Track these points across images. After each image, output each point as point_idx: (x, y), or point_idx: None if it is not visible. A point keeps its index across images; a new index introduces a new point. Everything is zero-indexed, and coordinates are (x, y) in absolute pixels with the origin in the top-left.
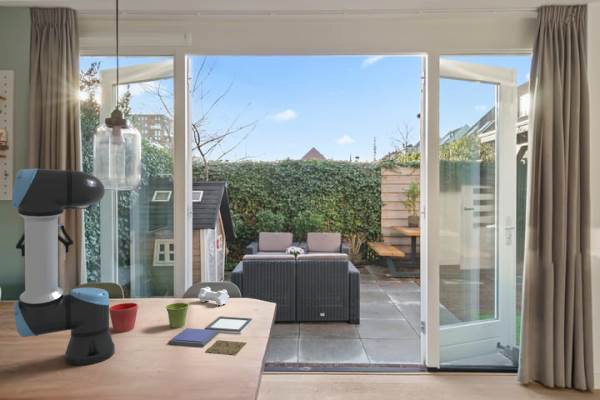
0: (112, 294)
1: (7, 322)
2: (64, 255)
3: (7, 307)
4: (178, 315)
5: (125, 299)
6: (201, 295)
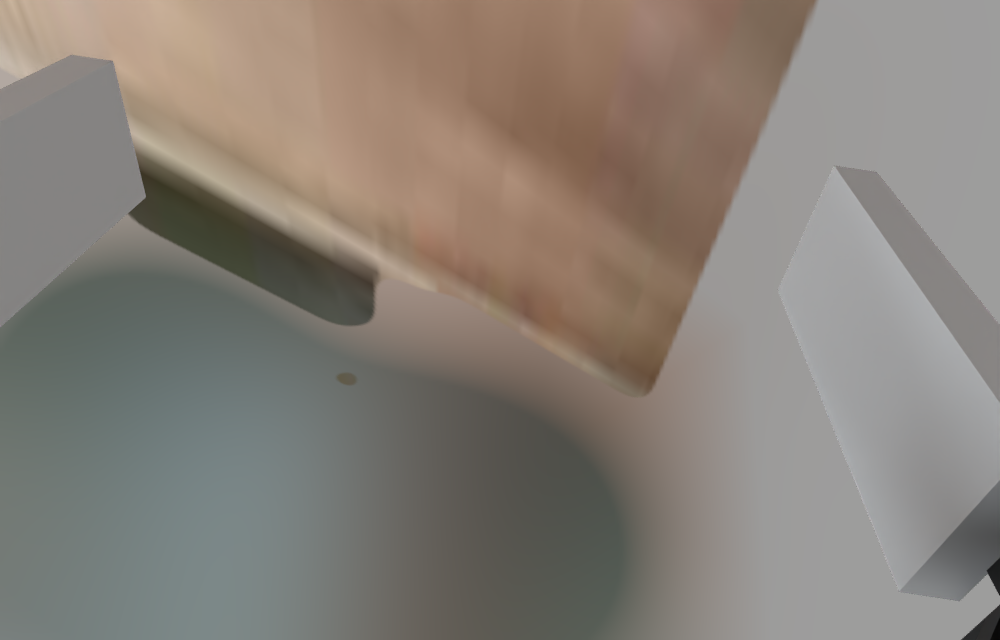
0: (163, 227)
1: (787, 41)
2: (5, 106)
3: (671, 324)
4: None
5: (34, 72)
6: None
